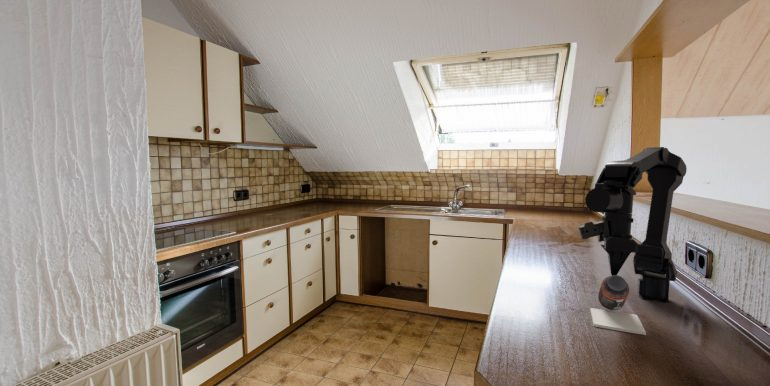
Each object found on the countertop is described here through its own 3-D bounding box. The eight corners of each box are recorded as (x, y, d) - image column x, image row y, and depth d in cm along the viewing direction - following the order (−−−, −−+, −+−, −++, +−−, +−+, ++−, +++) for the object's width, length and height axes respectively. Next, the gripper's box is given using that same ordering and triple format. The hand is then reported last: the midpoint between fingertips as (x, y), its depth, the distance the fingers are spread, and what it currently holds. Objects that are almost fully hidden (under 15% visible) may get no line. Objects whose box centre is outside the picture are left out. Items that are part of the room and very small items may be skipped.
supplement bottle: (624, 313, 94) (631, 297, 85) (597, 308, 97) (601, 292, 88) (624, 291, 97) (631, 273, 88) (598, 286, 99) (602, 269, 91)
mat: (636, 317, 91) (636, 314, 91) (645, 335, 81) (646, 332, 81) (590, 310, 95) (590, 307, 95) (593, 326, 85) (593, 323, 85)
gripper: (579, 208, 103) (575, 264, 103) (583, 211, 86) (579, 277, 87) (626, 212, 98) (622, 270, 99) (640, 215, 82) (635, 286, 82)
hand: (613, 275), depth 92 cm, fingers closed, pressing on supplement bottle
